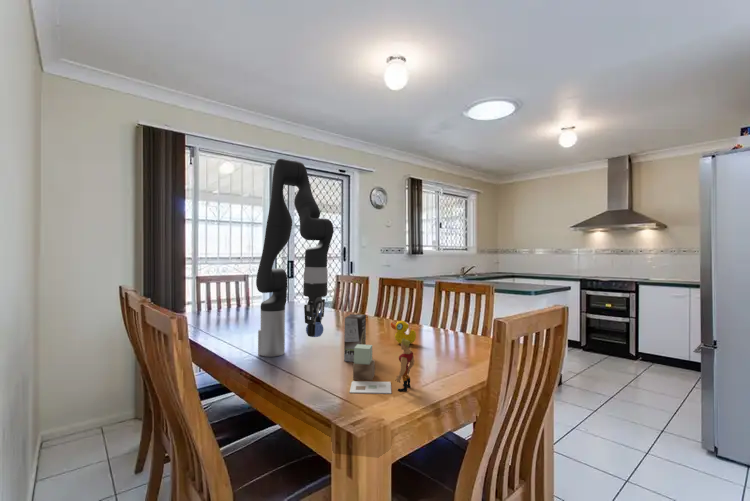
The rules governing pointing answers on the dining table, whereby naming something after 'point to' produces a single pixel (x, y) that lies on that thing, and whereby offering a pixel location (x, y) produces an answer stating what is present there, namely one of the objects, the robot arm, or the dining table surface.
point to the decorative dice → (316, 329)
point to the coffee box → (354, 334)
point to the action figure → (405, 364)
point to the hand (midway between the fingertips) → (314, 333)
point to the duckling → (401, 328)
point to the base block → (364, 371)
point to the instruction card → (370, 387)
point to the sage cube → (362, 354)
